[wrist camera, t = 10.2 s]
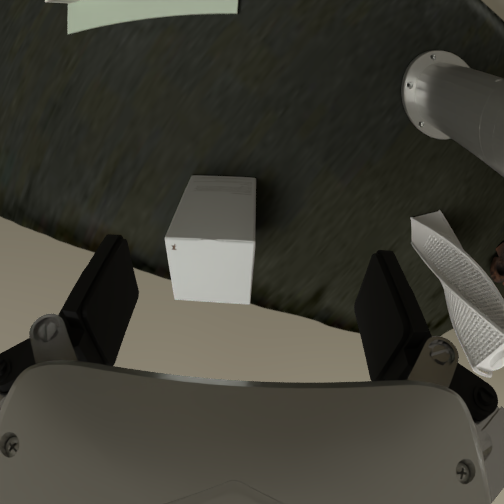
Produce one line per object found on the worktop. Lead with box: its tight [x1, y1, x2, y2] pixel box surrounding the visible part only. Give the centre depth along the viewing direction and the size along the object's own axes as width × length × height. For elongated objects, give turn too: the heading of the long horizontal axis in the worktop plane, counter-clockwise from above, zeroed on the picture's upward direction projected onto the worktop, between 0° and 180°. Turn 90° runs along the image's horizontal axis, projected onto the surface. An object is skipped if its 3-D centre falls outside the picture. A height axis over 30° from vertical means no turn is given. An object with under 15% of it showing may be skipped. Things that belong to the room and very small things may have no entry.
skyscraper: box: [410, 210, 504, 378], centre depth 34 cm, size 8×8×28 cm
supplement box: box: [165, 175, 256, 304], centre depth 38 cm, size 9×9×15 cm
